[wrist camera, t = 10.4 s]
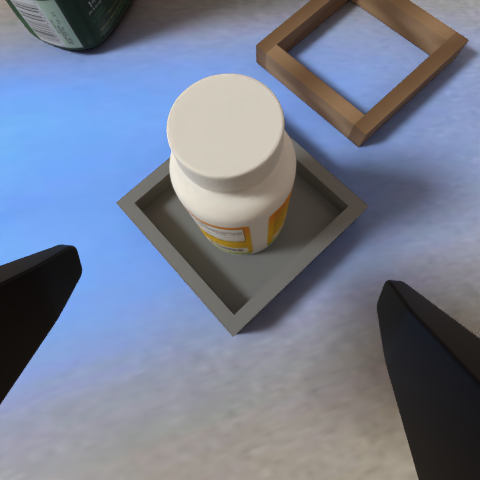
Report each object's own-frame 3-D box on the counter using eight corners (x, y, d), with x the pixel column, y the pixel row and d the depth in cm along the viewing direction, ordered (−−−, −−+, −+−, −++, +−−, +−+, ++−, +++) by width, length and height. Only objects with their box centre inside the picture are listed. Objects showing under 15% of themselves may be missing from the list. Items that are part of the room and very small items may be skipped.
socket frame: (455, 58, 22) (468, 40, 21) (358, 147, 21) (366, 134, 19) (349, -15, 24) (354, -36, 23) (256, 62, 23) (256, 44, 22)
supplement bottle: (263, 163, 20) (265, 32, 11) (299, 235, 19) (337, 156, 10) (187, 195, 20) (123, 90, 11) (219, 270, 19) (177, 225, 9)
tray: (358, 217, 20) (368, 206, 18) (235, 334, 19) (233, 336, 17) (244, 115, 22) (243, 95, 20) (129, 213, 21) (116, 202, 19)
